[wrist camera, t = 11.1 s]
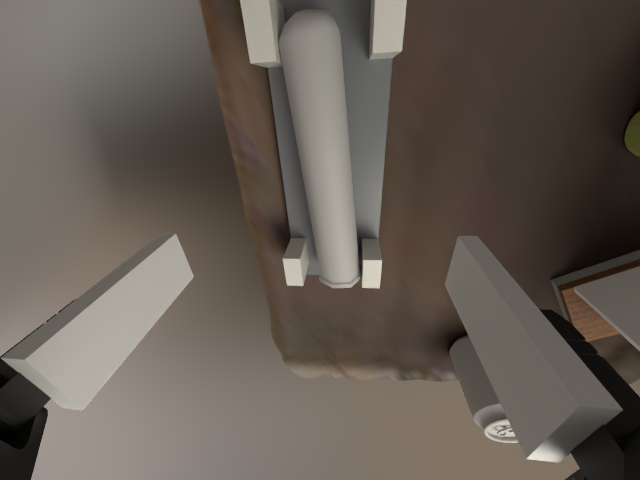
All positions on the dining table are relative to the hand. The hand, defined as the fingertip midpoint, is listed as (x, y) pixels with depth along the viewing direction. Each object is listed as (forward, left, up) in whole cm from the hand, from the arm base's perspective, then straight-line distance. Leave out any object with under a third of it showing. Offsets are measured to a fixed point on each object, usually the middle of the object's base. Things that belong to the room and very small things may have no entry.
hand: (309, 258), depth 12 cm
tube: (0, 0, -17) cm, 17 cm away
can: (-22, +30, -18) cm, 41 cm away
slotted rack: (0, 0, -18) cm, 18 cm away
